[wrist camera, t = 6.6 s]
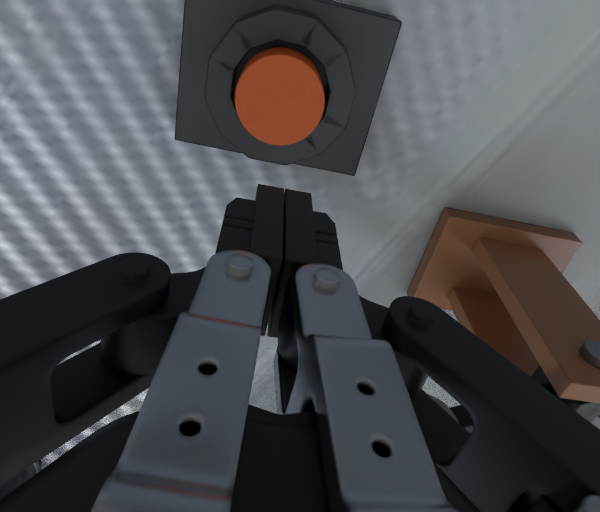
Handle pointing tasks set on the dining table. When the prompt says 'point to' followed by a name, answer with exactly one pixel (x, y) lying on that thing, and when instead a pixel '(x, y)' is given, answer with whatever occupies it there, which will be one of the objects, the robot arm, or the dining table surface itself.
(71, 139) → the dining table surface
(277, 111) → the power button
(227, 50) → the button base
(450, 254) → the switch bracket
